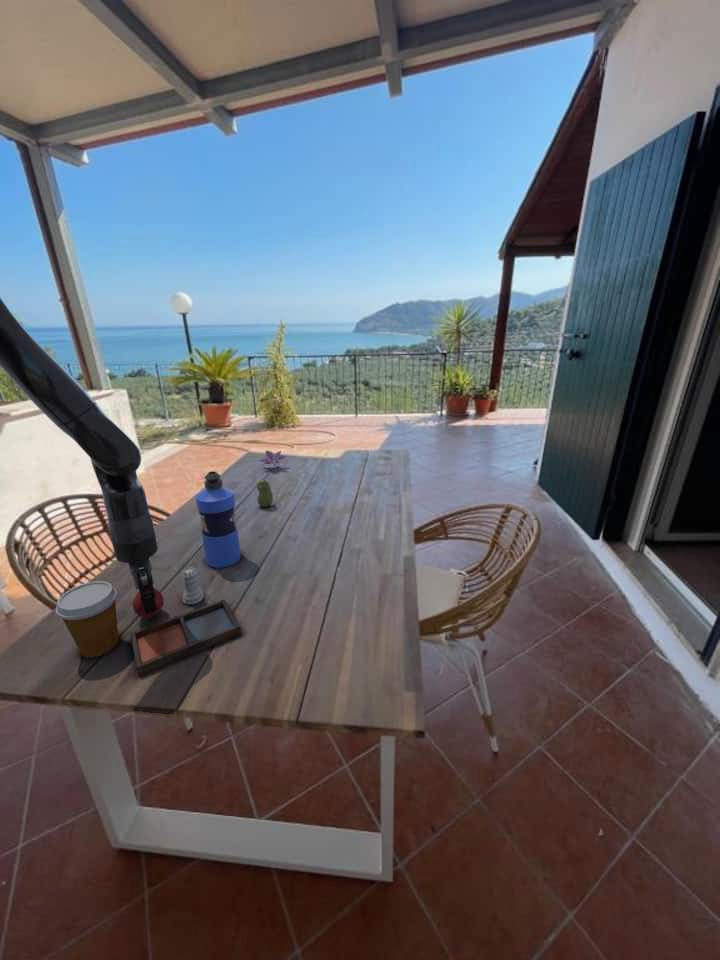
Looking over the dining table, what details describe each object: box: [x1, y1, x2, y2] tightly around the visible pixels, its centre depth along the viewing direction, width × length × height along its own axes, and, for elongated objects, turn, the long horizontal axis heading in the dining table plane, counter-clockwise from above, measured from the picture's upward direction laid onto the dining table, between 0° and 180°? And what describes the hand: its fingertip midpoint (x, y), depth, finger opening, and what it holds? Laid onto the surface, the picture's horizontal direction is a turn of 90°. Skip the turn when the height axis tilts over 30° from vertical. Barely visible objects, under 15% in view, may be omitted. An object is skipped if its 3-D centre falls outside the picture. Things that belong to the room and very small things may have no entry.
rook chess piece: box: [181, 566, 205, 606], centre depth 89 cm, size 4×4×8 cm
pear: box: [256, 479, 274, 508], centre depth 138 cm, size 6×5×10 cm
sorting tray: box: [129, 598, 242, 677], centre depth 78 cm, size 19×11×2 cm, turn 125°
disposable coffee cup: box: [55, 580, 119, 658], centre depth 74 cm, size 10×10×12 cm
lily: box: [259, 450, 288, 473], centre depth 177 cm, size 12×12×10 cm
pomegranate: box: [132, 587, 165, 619], centre depth 83 cm, size 6×6×8 cm
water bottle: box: [195, 471, 242, 569], centre depth 102 cm, size 9×9×25 cm
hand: (148, 603), depth 83 cm, fingers closed on pomegranate, 6 cm apart
